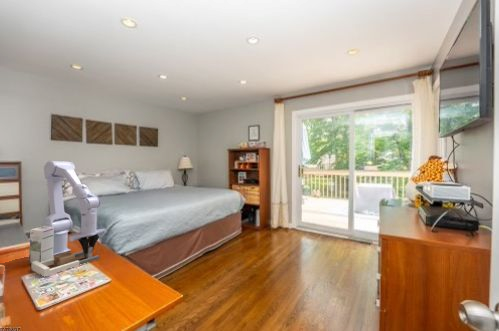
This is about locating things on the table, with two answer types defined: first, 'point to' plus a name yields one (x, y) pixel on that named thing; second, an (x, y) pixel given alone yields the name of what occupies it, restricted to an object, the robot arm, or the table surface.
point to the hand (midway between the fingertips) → (88, 252)
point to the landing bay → (87, 258)
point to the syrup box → (41, 244)
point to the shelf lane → (45, 271)
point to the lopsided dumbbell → (70, 257)
